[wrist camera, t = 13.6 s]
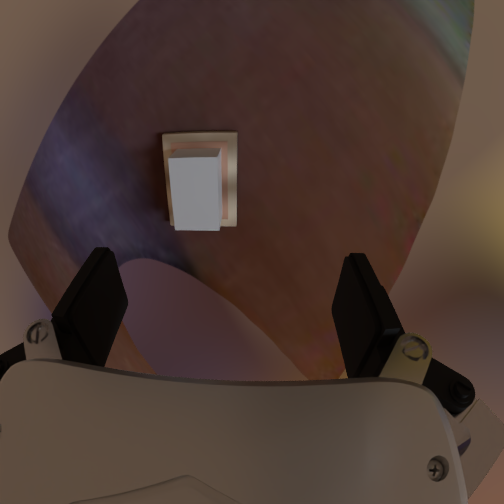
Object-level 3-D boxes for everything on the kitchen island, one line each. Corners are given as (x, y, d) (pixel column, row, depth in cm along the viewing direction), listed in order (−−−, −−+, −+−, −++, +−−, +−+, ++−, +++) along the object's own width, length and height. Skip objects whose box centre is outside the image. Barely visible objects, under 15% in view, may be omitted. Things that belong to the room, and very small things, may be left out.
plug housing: (176, 148, 36) (168, 158, 33) (221, 148, 36) (217, 157, 33) (181, 214, 42) (175, 230, 38) (222, 215, 42) (219, 230, 38)
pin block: (164, 133, 36) (156, 138, 33) (237, 131, 36) (235, 136, 33) (172, 221, 44) (166, 233, 41) (236, 222, 44) (235, 235, 41)
